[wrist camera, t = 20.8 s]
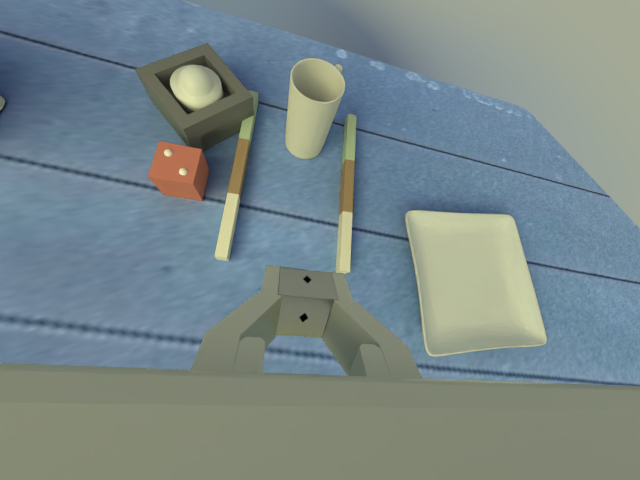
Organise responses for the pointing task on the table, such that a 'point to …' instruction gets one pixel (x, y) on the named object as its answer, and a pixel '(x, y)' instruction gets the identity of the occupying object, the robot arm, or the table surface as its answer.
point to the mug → (312, 105)
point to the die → (179, 171)
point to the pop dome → (195, 87)
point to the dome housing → (207, 121)
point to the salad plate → (472, 283)
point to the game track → (238, 180)
